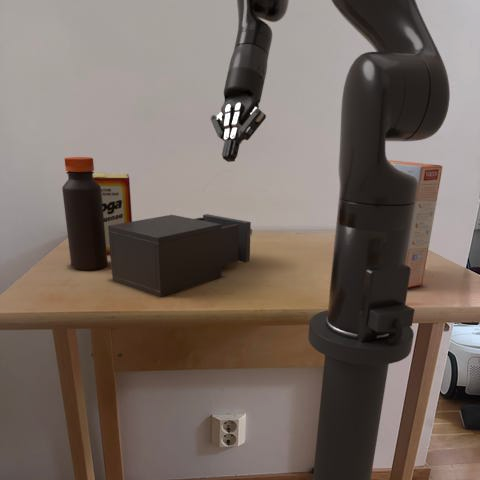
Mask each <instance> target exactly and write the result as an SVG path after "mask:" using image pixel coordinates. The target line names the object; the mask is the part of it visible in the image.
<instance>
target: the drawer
mask: <svg viewBox="0 0 480 480" xmlns="http://www.w3.org/2000/svg"><path fill="white" fill-rule="evenodd" d="M195 219H197V220H202V221H207V222H212V223H217V224H221V268H223V267H226V266H229V265H232V264H236V263H239V262H241V263H244V264H246V263H250V261H251V260H250V259H251V258H250V257H251V236H252V234H253V229H252V227H251V226H252V222H251V221H247V220H243V219H236V218H230V217H225V216H220V215H214V214H209V213H205V214H202V217H196V218H195Z"/></svg>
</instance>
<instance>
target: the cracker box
mask: <svg viewBox="0 0 480 480" xmlns="http://www.w3.org/2000/svg"><path fill="white" fill-rule="evenodd" d="M387 160H388V161H389V162H390V163H391V164H392V165H393V166H394V167H395V168H397V169H398V170H400V171H402V172H405V173H407V174H410V175H412V176H413V177H415V178H416V179H417V182H418V191H417V197H416V202H415V209H414V216H413V222H412V227H411V234H410V240H409V247H408V253H407V259H406V265H407V266H409V267H410V268H411V272H410V278H409V285H408V289H409V288H413V287H418V286H422V285H423V282H424V276H425V270H426V265H427V259H428V254H429V248H430V243H431V236H432V230H433V226H434V225H433V224H434V219H435V213H436V206H437V201H438V195H439V190H440V185H441V178H442V172H443V165H441V164H431V163H420V162H412V161H401V160H391V159H387Z"/></svg>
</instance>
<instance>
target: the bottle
mask: <svg viewBox="0 0 480 480" xmlns="http://www.w3.org/2000/svg"><path fill="white" fill-rule="evenodd" d="M94 164H95V163H94V158H93V157H88V156H70V157H65V158H64V167H65V172H66V174H67V178H68V179H67V180H66V182H65V183H64V184H63V186H62V188H61V189H62V198H63V208H64V215H65V216H64V217H65V223H66V231H67V233H66V234H67V241H68V249H69V259H70V266H71V267H72V268H73V269H75V270H78V271H94V270H99V269H100V270H101V269H103V268H105V267H106V266H108V254H107V251H106V240H105V228H104V217H103V205H102V194H101V187H100V185H99V184H98V183H97V182H96V181H95V180H94V179H93V173H95V165H94Z"/></svg>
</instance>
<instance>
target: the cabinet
mask: <svg viewBox="0 0 480 480" xmlns="http://www.w3.org/2000/svg"><path fill="white" fill-rule="evenodd" d="M108 231H109V243H110V254H109V255H110V266H111V275H112V277H111V279H112V281H114V282H117V283H120V284H123V285H125V286H128V287H131V288H134V289H136V290H140V291H143V292H146V293H149V294H152V295H155V296H157V297H159V298H162V297H164V296H168V295H171V294H174V293H177V292H180V291H182V290H186V289H189V288H193V287H196V286H199V285H201V284H204V283H207V282H210V281H213V280H216V279H219V278H222V267H221V224H217V223H212V222H207V221H202V220H197V219H196V218H191V217H186V216H181V215H176V214H169V215H161V216H157V217H150V218H145V219H138V220H134V221H133V220H132V222H127V223H121V224H115V225H109V226H108Z"/></svg>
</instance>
